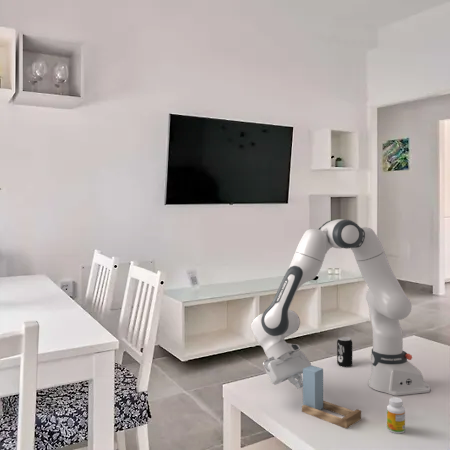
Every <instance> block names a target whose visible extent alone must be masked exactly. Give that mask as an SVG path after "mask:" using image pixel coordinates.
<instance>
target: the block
mask: <svg viewBox="0 0 450 450" xmlns="http://www.w3.org/2000/svg"><path fill="white" fill-rule="evenodd" d="M302 381H303V387H302V406H303V405H307V406H309V407H312V408H315V409H318V410H320V411H322V409H324V408H323V401H324V368H323V367H318V366H315V365H312V364H311V366H308V367H306V368H304V369H303V373H302Z"/></svg>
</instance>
